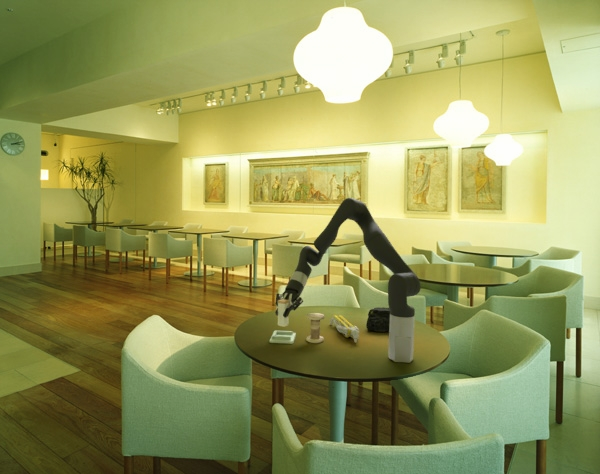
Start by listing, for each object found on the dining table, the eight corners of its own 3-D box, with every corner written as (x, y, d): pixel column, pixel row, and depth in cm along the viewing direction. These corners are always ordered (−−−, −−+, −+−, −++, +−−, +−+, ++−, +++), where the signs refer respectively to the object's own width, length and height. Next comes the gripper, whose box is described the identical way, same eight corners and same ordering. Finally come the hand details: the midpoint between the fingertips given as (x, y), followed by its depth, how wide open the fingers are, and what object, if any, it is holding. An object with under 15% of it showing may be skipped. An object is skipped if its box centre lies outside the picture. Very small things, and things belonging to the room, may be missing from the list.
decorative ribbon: (344, 314, 207) (365, 331, 178) (342, 326, 207) (363, 345, 178) (329, 312, 206) (348, 329, 176) (327, 324, 206) (346, 343, 177)
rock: (370, 324, 210) (365, 331, 195) (370, 305, 209) (366, 311, 195) (406, 327, 204) (404, 335, 190) (406, 307, 204) (404, 314, 190)
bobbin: (323, 343, 177) (324, 318, 176) (305, 342, 178) (306, 317, 177) (324, 337, 185) (324, 313, 184) (306, 337, 185) (307, 312, 185)
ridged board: (292, 343, 176) (293, 338, 176) (269, 342, 177) (269, 337, 177) (295, 335, 188) (295, 330, 188) (273, 334, 189) (273, 329, 189)
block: (288, 324, 183) (289, 300, 182) (284, 326, 180) (284, 301, 179) (282, 323, 185) (282, 298, 184) (277, 325, 182) (277, 300, 181)
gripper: (280, 277, 191) (263, 308, 182) (307, 280, 183) (290, 313, 174) (287, 286, 196) (271, 317, 186) (313, 290, 188) (297, 323, 179)
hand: (280, 315), depth 180 cm, fingers closed on block, 3 cm apart
